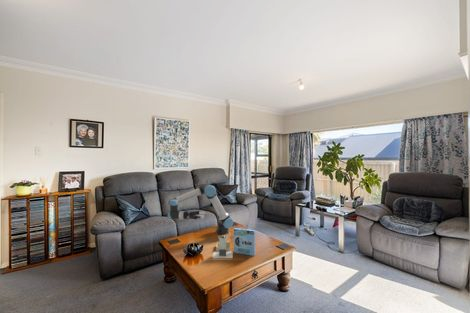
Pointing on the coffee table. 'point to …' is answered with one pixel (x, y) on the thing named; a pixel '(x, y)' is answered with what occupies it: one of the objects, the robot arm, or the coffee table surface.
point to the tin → (222, 246)
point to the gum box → (244, 241)
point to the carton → (226, 246)
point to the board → (228, 255)
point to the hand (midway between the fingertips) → (204, 214)
